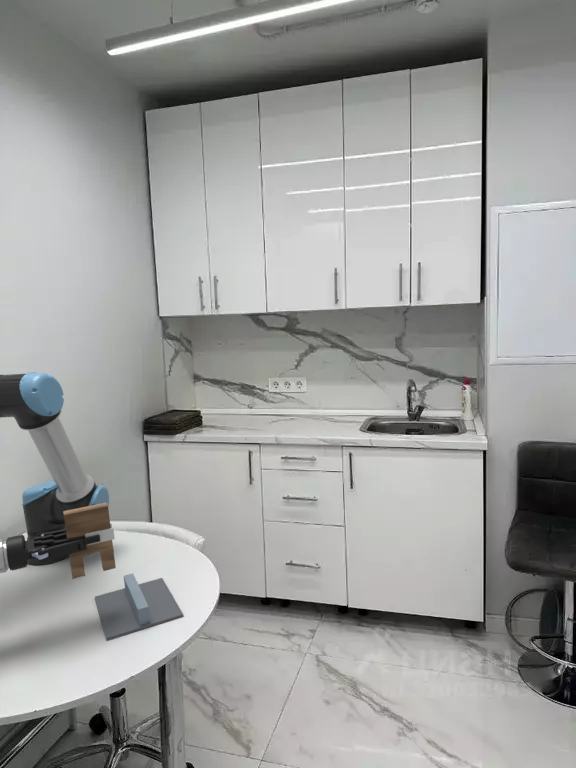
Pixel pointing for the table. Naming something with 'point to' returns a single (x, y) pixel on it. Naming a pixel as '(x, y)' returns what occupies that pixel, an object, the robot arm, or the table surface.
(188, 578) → the table surface
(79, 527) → the brown notched block
